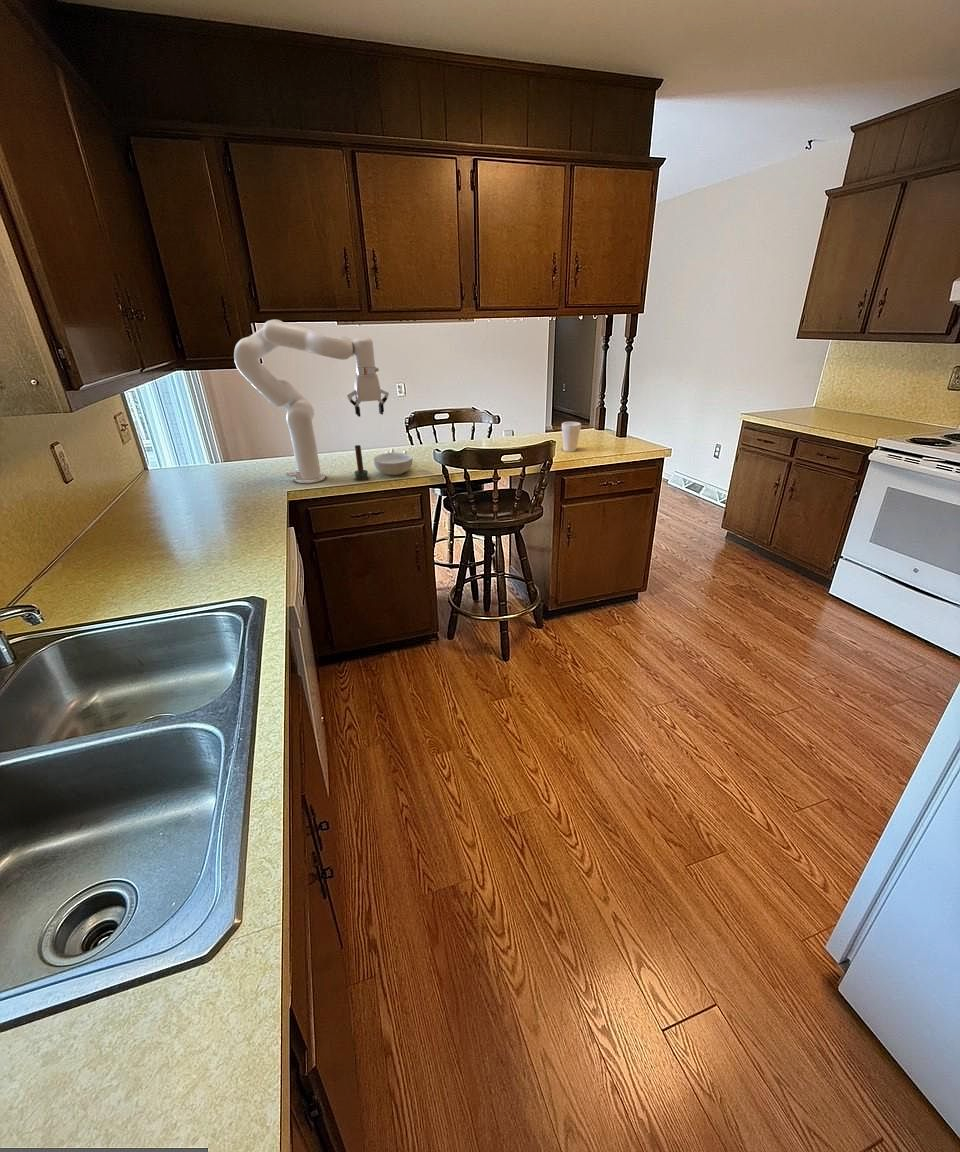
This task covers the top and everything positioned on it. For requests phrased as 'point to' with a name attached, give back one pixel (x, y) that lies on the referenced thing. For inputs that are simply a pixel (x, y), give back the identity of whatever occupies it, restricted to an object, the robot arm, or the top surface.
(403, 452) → the bracket
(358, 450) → the brush
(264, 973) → the top surface
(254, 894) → the top surface
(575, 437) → the foam cup
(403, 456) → the cereal bowl
